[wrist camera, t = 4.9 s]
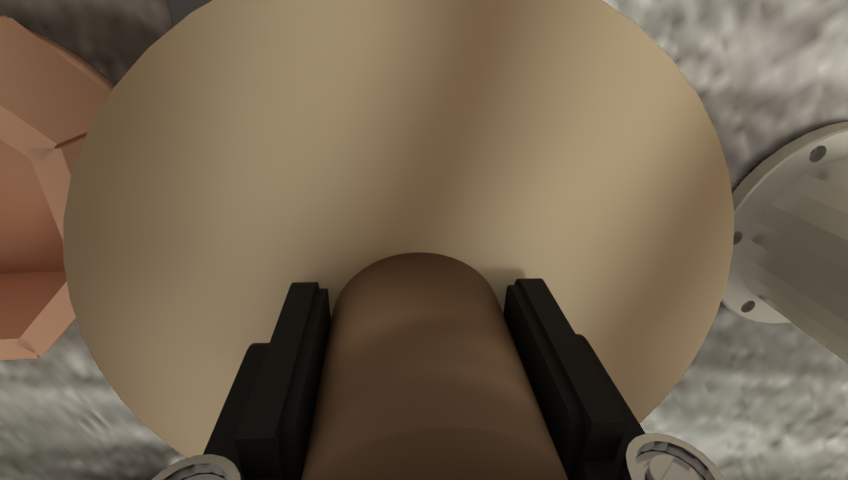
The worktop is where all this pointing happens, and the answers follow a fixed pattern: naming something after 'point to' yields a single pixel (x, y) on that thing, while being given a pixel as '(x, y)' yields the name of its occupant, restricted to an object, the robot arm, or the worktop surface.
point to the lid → (397, 219)
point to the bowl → (38, 181)
